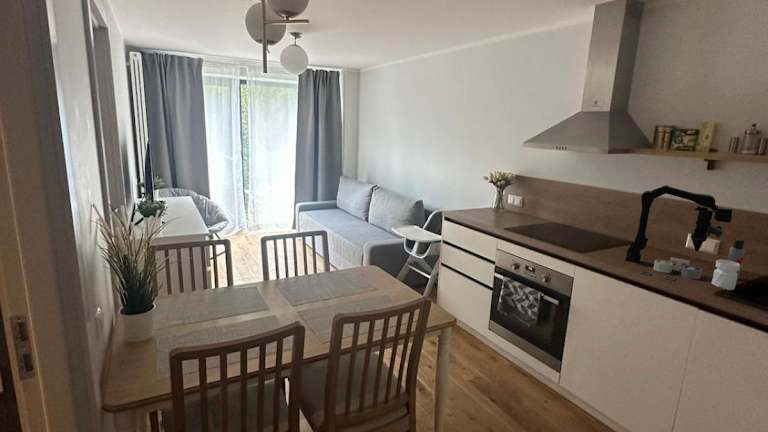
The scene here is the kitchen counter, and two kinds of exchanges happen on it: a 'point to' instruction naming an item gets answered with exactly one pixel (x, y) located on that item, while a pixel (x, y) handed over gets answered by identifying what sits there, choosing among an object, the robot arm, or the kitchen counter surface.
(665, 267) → the tube left
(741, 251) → the lotion bottle
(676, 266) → the dot card
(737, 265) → the vase
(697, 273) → the tube right
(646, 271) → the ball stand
